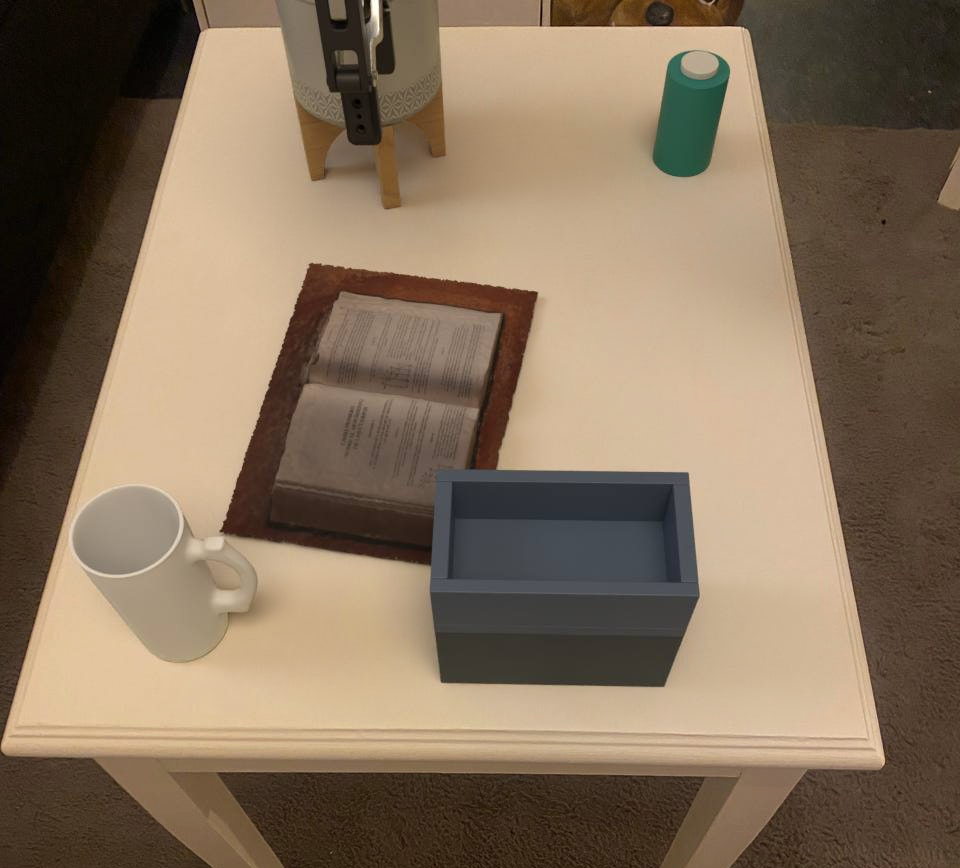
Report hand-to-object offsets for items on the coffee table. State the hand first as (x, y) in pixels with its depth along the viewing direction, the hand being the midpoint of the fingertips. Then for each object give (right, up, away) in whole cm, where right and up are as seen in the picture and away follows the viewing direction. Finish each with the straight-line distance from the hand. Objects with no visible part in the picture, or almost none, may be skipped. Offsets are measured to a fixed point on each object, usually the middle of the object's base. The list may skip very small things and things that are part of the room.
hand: (373, 105), depth 63 cm
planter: (-2, +9, +26) cm, 27 cm away
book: (0, -18, +12) cm, 21 cm away
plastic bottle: (+26, +9, +25) cm, 38 cm away
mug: (-12, -35, +3) cm, 37 cm away
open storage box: (+12, -35, +3) cm, 37 cm away
